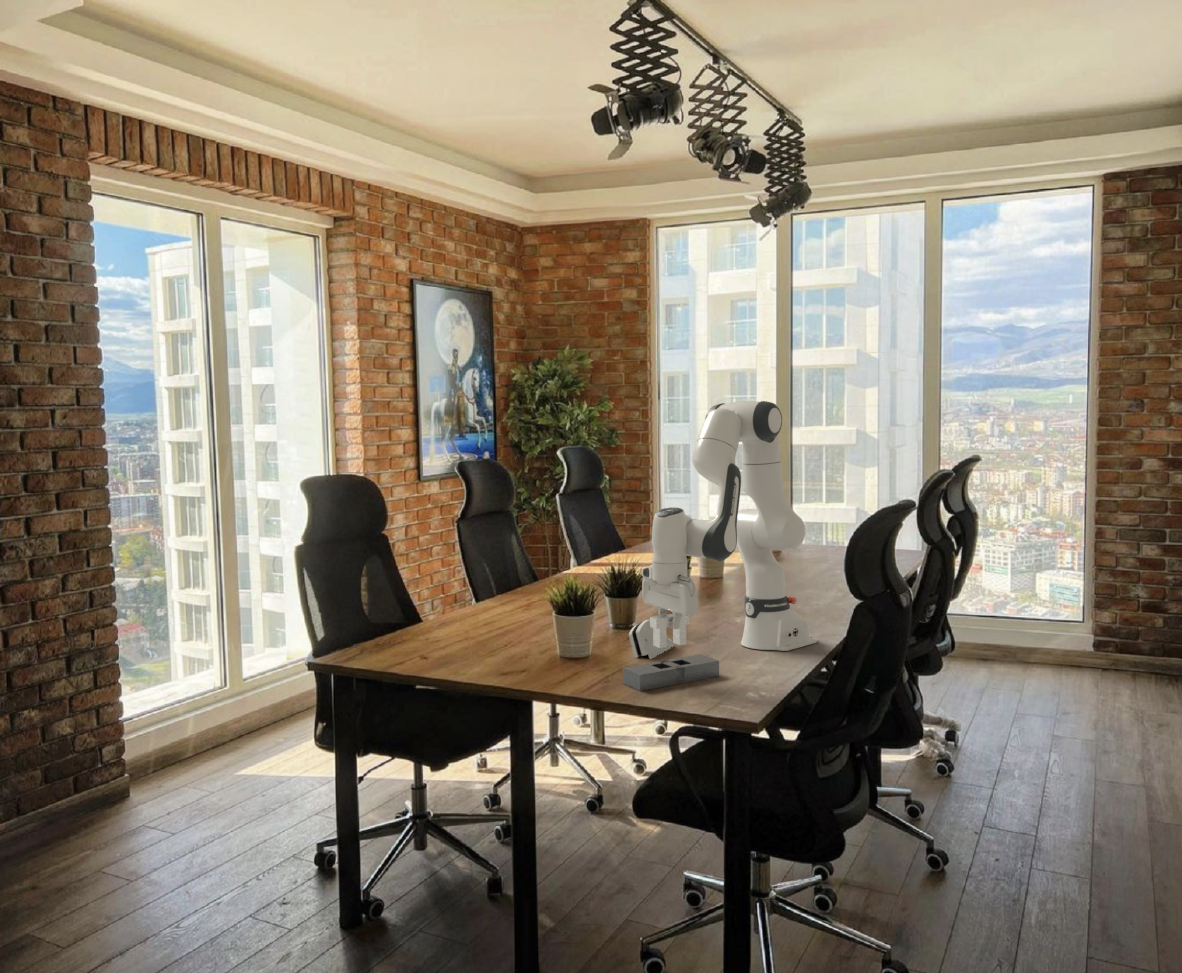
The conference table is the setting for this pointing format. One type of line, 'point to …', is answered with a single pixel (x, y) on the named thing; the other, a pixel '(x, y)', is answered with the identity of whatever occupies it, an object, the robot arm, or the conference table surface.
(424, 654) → the conference table surface
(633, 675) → the rail
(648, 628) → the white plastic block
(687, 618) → the clip
